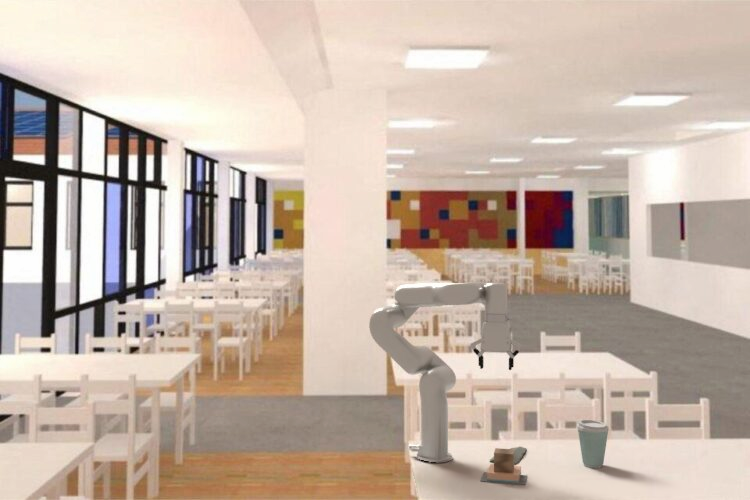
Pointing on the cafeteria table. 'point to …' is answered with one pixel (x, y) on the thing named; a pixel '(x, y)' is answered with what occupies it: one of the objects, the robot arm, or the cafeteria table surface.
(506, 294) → the robot arm
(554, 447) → the cafeteria table surface
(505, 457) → the walnut block
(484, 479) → the mat
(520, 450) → the stone slab
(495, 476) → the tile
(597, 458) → the disposable coffee cup
